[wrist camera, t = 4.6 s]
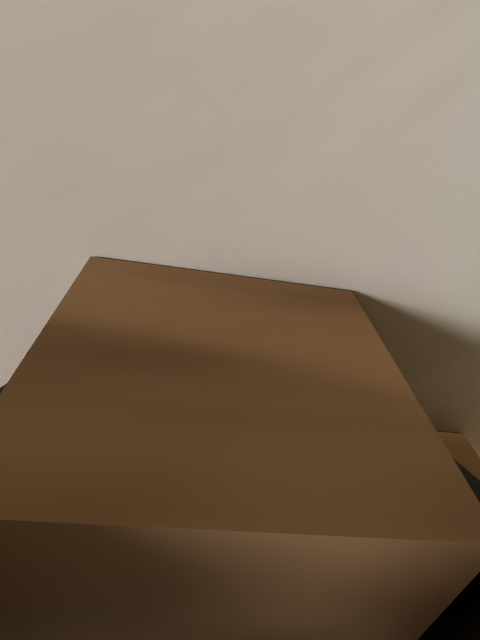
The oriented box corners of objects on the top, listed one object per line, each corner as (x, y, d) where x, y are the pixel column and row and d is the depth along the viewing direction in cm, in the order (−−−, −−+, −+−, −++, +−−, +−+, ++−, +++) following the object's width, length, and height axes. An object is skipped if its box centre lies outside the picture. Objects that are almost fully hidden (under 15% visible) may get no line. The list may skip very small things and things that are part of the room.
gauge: (262, 541, 15) (286, 782, 10) (97, 534, 14) (32, 790, 9) (352, 291, 10) (505, 544, 5) (90, 256, 9) (-80, 515, 4)
